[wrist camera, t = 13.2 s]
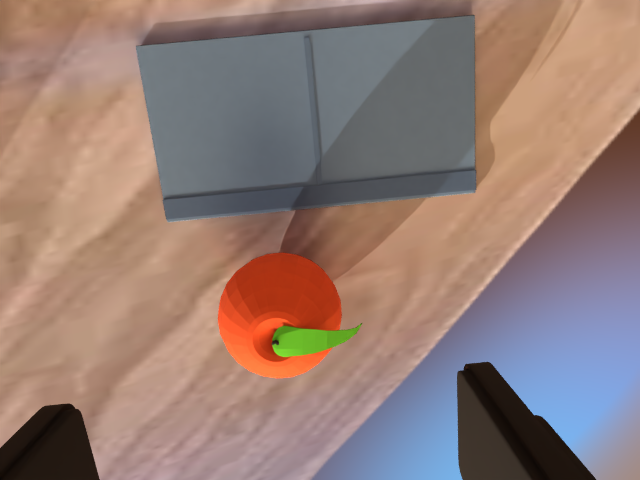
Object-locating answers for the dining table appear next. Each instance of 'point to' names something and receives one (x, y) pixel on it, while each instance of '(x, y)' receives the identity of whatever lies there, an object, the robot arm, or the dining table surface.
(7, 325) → the dining table surface
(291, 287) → the clementine
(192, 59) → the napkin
